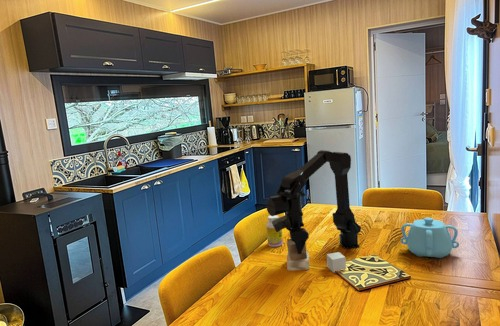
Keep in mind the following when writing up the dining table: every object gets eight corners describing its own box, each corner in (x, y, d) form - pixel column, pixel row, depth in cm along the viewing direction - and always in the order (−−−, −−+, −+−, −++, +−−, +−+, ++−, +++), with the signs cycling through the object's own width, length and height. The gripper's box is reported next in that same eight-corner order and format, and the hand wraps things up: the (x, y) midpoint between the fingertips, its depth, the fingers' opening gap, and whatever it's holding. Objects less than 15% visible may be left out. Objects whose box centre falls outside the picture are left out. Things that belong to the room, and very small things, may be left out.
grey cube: (339, 264, 138) (338, 251, 137) (346, 270, 133) (345, 257, 132) (327, 267, 137) (326, 254, 136) (333, 272, 132) (332, 259, 131)
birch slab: (308, 261, 144) (308, 251, 143) (309, 270, 136) (308, 260, 135) (288, 261, 145) (287, 252, 144) (287, 271, 137) (286, 261, 136)
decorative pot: (432, 241, 150) (432, 209, 148) (464, 256, 134) (463, 220, 132) (397, 248, 146) (396, 216, 144) (425, 265, 131) (424, 228, 129)
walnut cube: (303, 252, 143) (302, 237, 142) (306, 258, 137) (305, 243, 136) (288, 254, 143) (286, 239, 142) (291, 260, 137) (289, 245, 136)
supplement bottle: (282, 247, 159) (279, 218, 157) (266, 247, 160) (264, 219, 158) (283, 241, 165) (281, 213, 163) (269, 241, 167) (266, 214, 165)
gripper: (269, 205, 146) (273, 242, 148) (275, 219, 127) (279, 262, 130) (297, 201, 146) (300, 239, 149) (307, 216, 128) (310, 258, 130)
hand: (297, 249), depth 139 cm, fingers open, 9 cm apart
